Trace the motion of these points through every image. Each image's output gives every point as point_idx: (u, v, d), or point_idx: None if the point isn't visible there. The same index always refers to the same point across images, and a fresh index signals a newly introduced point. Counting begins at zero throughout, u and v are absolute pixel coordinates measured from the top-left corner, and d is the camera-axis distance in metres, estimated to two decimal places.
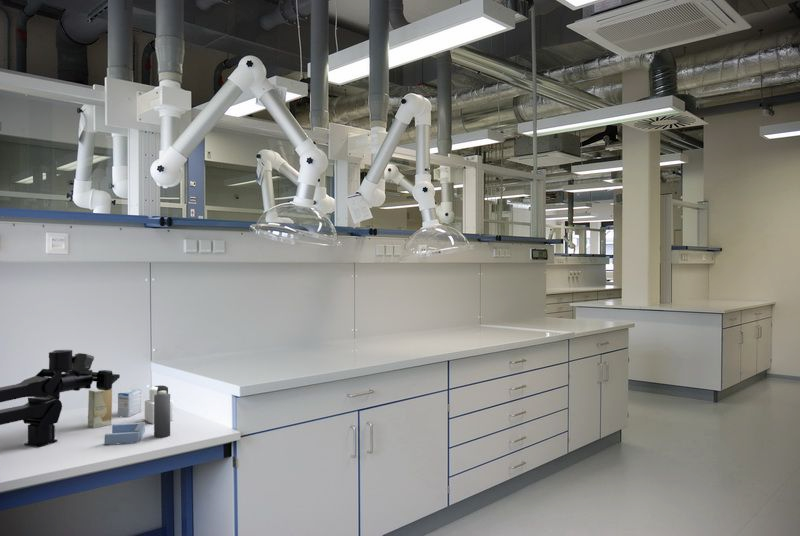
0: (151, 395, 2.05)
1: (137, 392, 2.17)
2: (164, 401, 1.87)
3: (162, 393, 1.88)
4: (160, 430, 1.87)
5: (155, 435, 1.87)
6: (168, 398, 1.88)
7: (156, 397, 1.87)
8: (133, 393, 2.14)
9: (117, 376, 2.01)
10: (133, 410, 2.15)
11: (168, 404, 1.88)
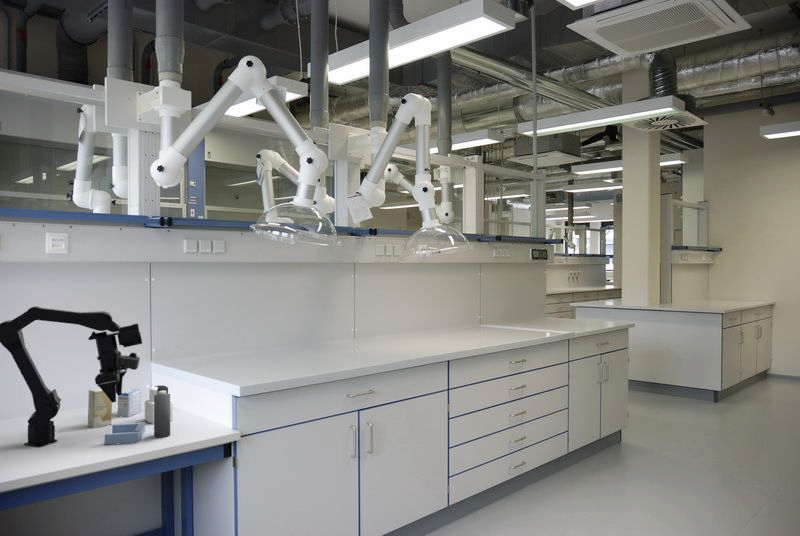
0: (151, 395, 2.05)
1: (137, 392, 2.17)
2: (164, 401, 1.87)
3: (162, 393, 1.88)
4: (160, 430, 1.87)
5: (155, 435, 1.87)
6: (168, 398, 1.88)
7: (156, 397, 1.87)
8: (133, 393, 2.14)
9: (113, 399, 1.84)
10: (133, 410, 2.15)
11: (168, 404, 1.88)
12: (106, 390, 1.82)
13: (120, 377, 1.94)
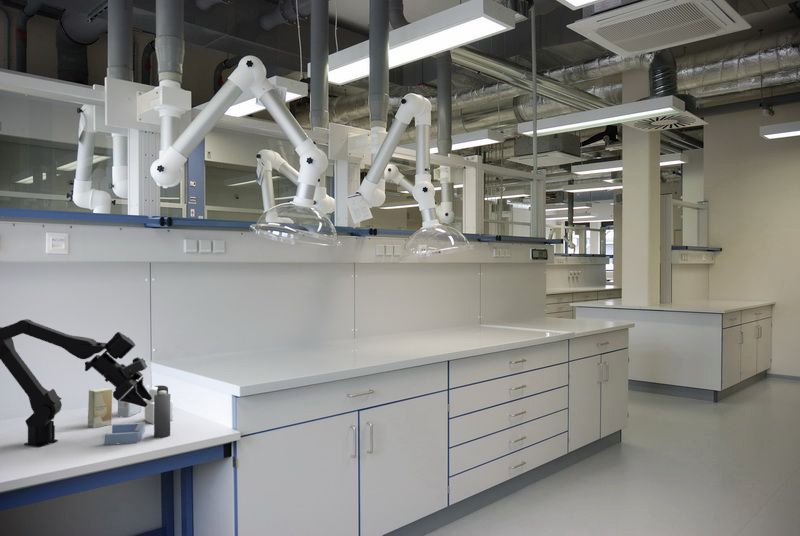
0: (151, 395, 2.05)
1: None
2: (164, 401, 1.87)
3: (162, 393, 1.88)
4: (160, 430, 1.87)
5: (155, 435, 1.87)
6: (168, 398, 1.88)
7: (156, 397, 1.87)
8: None
9: (143, 403, 1.83)
10: (133, 410, 2.15)
11: (168, 404, 1.88)
12: (132, 400, 1.81)
13: (140, 385, 1.92)
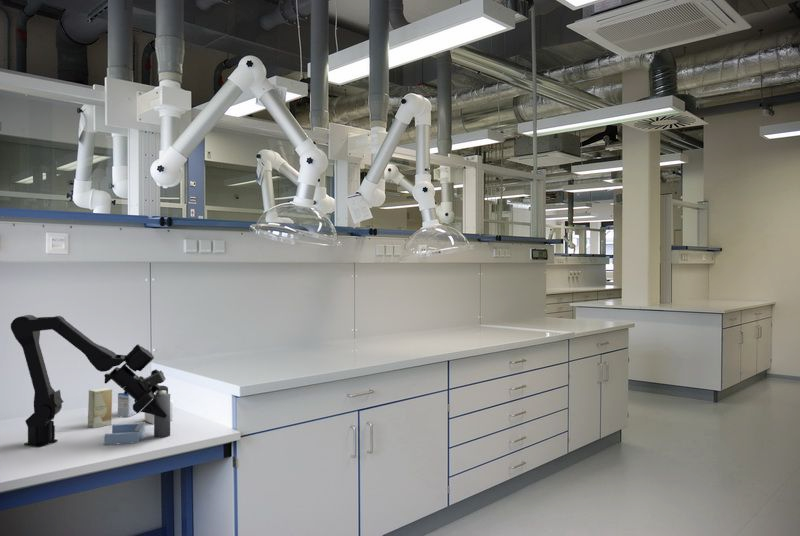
0: None
1: None
2: (164, 401, 1.87)
3: (162, 393, 1.88)
4: (160, 430, 1.87)
5: (155, 435, 1.87)
6: (168, 398, 1.88)
7: None
8: None
9: (163, 414, 1.86)
10: (133, 410, 2.15)
11: (168, 404, 1.88)
12: (152, 411, 1.85)
13: None
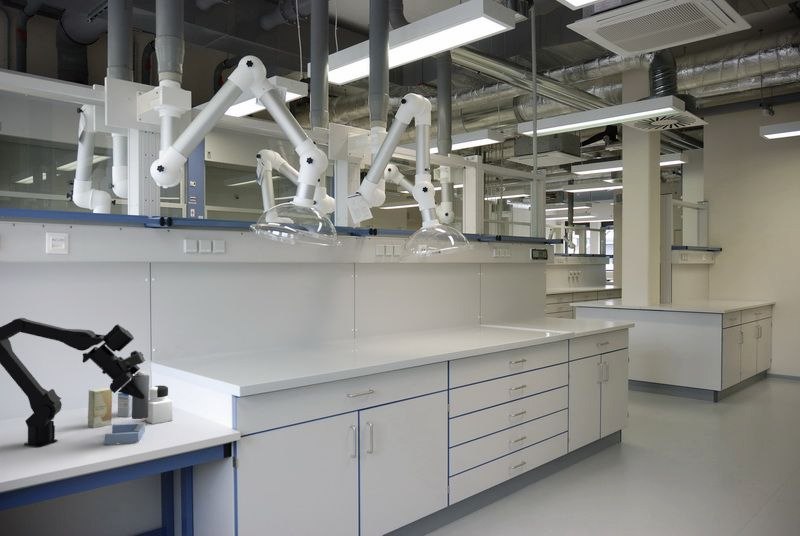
0: (151, 395, 2.05)
1: None
2: (142, 382, 1.86)
3: (141, 374, 1.86)
4: (138, 412, 1.85)
5: (133, 416, 1.86)
6: (147, 379, 1.87)
7: (135, 378, 1.85)
8: None
9: (141, 395, 1.85)
10: None
11: (147, 385, 1.87)
12: (129, 392, 1.83)
13: None
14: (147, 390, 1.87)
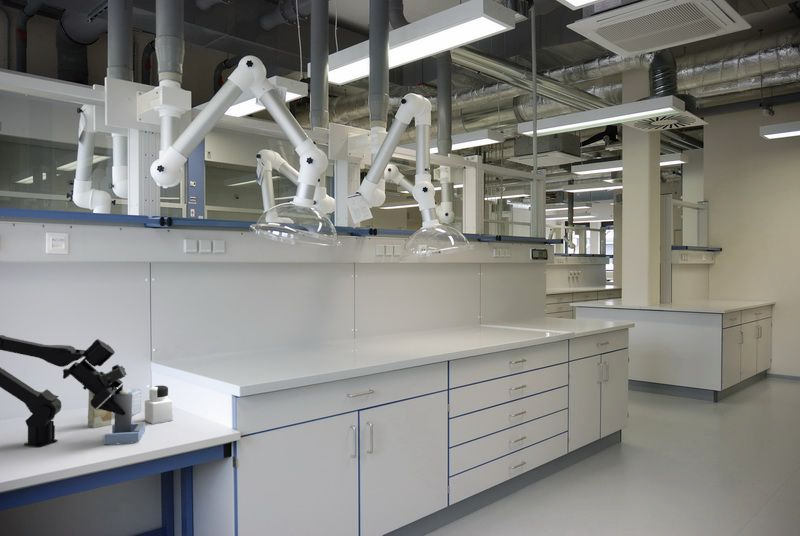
0: (151, 395, 2.05)
1: (137, 392, 2.17)
2: (125, 401, 1.84)
3: (123, 393, 1.85)
4: (120, 431, 1.84)
5: None
6: (129, 398, 1.86)
7: (117, 397, 1.84)
8: (133, 393, 2.14)
9: (122, 412, 1.81)
10: (133, 410, 2.15)
11: (129, 404, 1.86)
12: (110, 408, 1.80)
13: None
14: (130, 409, 1.86)
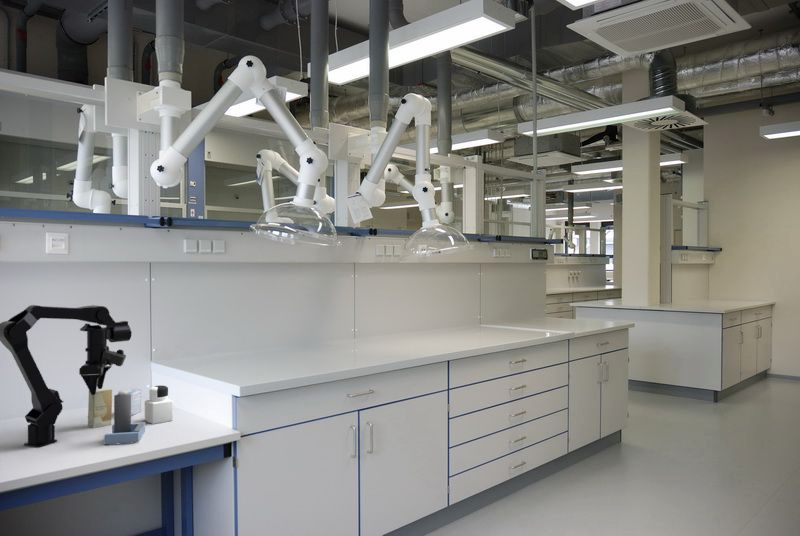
0: (151, 395, 2.05)
1: (137, 392, 2.17)
2: (124, 401, 1.84)
3: (122, 393, 1.85)
4: (120, 431, 1.84)
5: None
6: (128, 398, 1.86)
7: (116, 397, 1.84)
8: (133, 393, 2.14)
9: (93, 391, 1.89)
10: (133, 410, 2.15)
11: (128, 404, 1.86)
12: (88, 382, 1.87)
13: (104, 371, 1.99)
14: (129, 409, 1.86)
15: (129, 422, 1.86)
